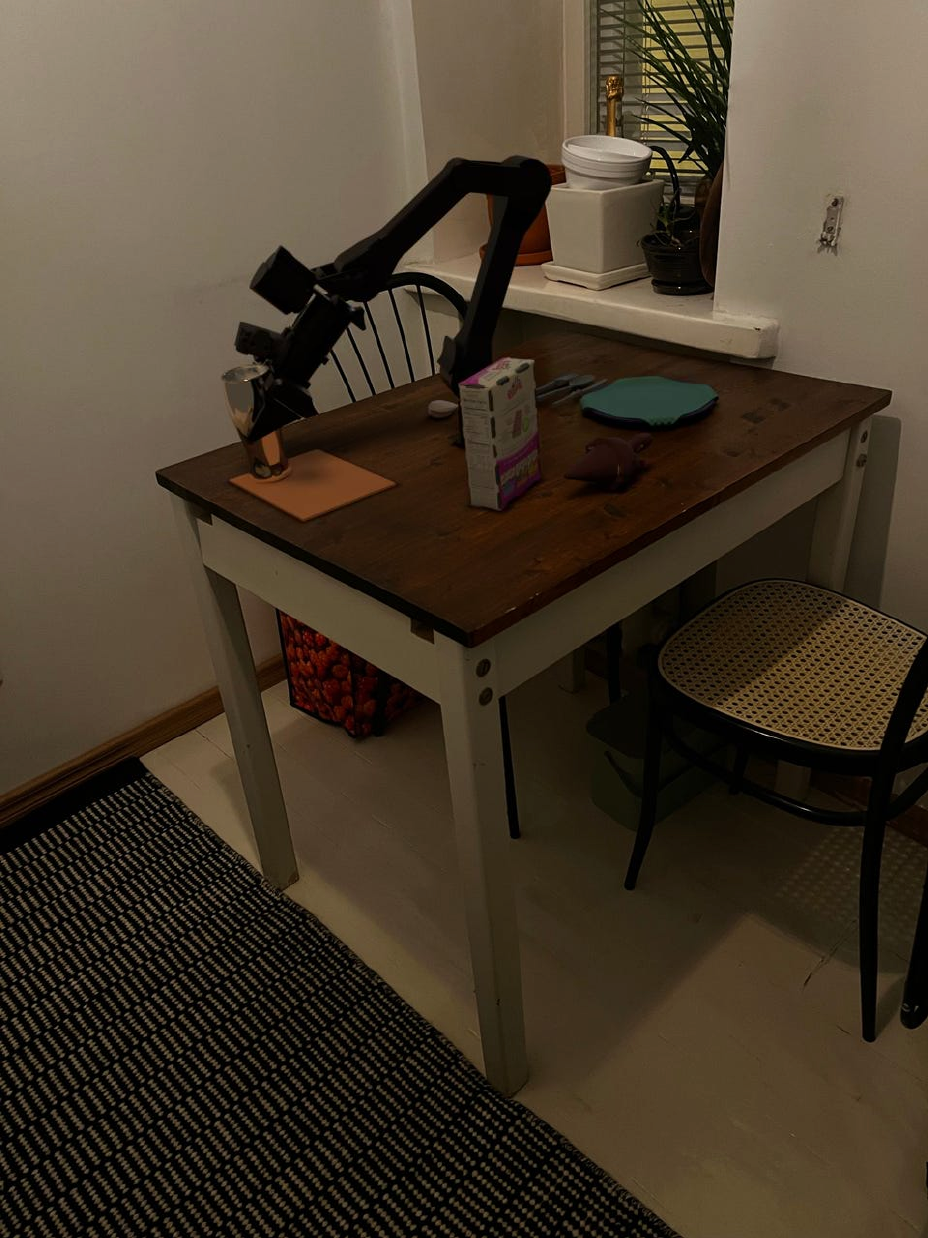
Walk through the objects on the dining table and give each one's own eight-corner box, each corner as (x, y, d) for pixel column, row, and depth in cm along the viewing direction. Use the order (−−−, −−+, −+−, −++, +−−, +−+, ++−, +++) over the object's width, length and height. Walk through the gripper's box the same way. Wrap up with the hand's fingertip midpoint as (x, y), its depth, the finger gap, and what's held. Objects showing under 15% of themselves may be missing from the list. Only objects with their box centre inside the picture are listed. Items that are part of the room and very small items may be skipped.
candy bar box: (510, 474, 131) (502, 355, 122) (542, 479, 128) (537, 358, 120) (467, 506, 123) (456, 381, 115) (500, 512, 121) (492, 386, 112)
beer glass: (245, 469, 139) (217, 370, 130) (292, 458, 140) (267, 359, 132) (249, 488, 133) (221, 386, 125) (298, 477, 134) (273, 374, 126)
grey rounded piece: (425, 414, 155) (424, 399, 153) (454, 409, 156) (453, 394, 154) (433, 422, 151) (432, 407, 150) (463, 416, 152) (462, 401, 151)
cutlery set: (667, 442, 136) (667, 426, 135) (509, 406, 155) (508, 392, 154) (739, 402, 148) (740, 387, 147) (584, 372, 167) (584, 359, 165)
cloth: (396, 485, 131) (395, 482, 131) (303, 522, 123) (302, 519, 123) (317, 451, 144) (317, 448, 144) (229, 482, 137) (229, 479, 136)
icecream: (590, 466, 115) (674, 441, 123) (551, 437, 119) (634, 415, 127) (577, 514, 119) (659, 487, 127) (540, 484, 123) (621, 460, 131)
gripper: (256, 284, 131) (193, 376, 135) (270, 314, 116) (199, 416, 119) (321, 333, 137) (259, 420, 140) (344, 368, 121) (273, 464, 125)
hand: (247, 429), depth 131 cm, fingers open, 9 cm apart
